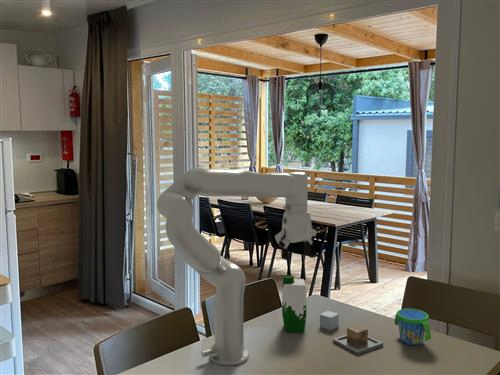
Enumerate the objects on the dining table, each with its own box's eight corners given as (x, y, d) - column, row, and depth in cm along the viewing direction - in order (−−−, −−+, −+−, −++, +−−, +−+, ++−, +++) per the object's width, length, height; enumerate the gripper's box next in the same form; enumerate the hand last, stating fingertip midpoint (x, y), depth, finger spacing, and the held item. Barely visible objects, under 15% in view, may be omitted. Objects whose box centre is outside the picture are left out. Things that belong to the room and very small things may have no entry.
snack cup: (439, 349, 163) (440, 320, 162) (412, 353, 160) (413, 324, 159) (410, 331, 178) (411, 304, 177) (385, 335, 175) (386, 307, 174)
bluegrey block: (331, 330, 179) (331, 317, 179) (319, 327, 183) (319, 314, 182) (338, 326, 183) (338, 313, 182) (327, 323, 186) (327, 310, 186)
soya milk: (281, 323, 186) (281, 273, 184) (305, 323, 186) (305, 273, 184) (282, 333, 177) (282, 280, 175) (307, 333, 177) (307, 280, 175)
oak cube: (357, 346, 164) (357, 332, 163) (346, 341, 168) (347, 327, 168) (367, 343, 167) (367, 329, 166) (357, 338, 171) (357, 324, 170)
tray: (357, 355, 159) (357, 351, 159) (332, 341, 169) (332, 338, 169) (383, 346, 166) (383, 342, 165) (357, 334, 176) (357, 330, 176)
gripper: (282, 212, 158) (282, 263, 160) (323, 207, 167) (322, 255, 169) (269, 209, 164) (269, 258, 166) (309, 204, 173) (309, 251, 175)
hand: (296, 257), depth 167 cm, fingers open, 9 cm apart
